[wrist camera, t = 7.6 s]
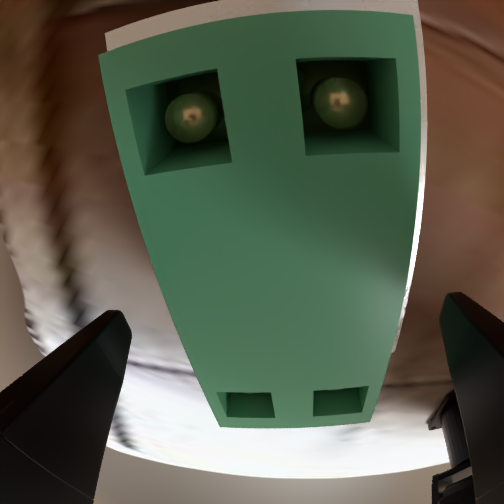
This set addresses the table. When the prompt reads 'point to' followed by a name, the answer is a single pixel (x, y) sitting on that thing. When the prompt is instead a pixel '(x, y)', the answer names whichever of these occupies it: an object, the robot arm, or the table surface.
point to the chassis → (309, 79)
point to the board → (277, 210)
